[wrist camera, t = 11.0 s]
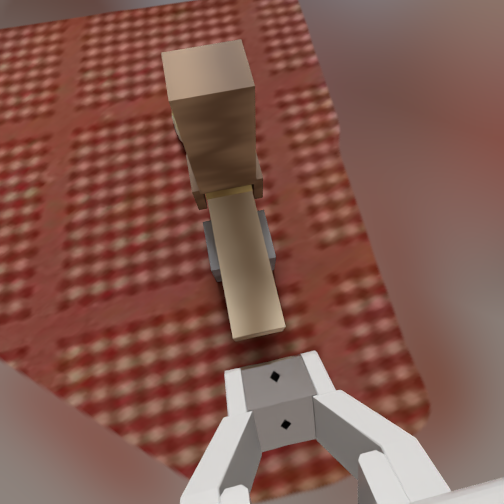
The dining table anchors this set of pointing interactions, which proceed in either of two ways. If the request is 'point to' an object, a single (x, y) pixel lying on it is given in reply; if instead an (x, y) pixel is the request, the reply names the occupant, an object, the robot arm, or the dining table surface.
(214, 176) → the plate
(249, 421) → the robot arm
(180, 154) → the dining table surface
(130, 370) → the dining table surface
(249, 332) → the seesaw
